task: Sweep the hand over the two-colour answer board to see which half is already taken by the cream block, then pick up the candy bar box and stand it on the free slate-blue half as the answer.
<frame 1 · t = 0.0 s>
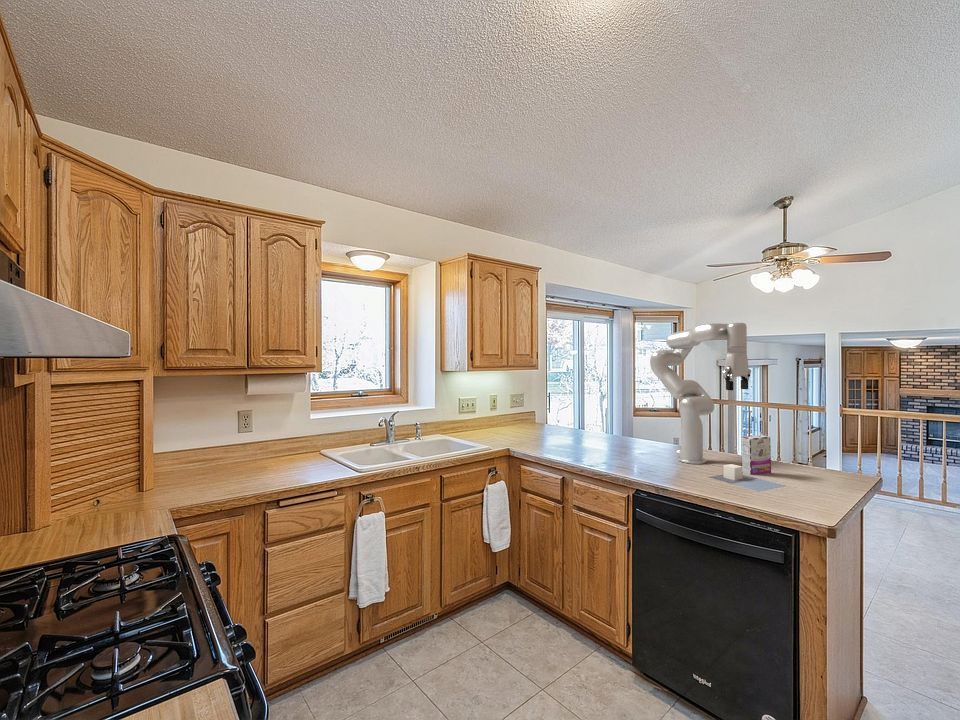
hand: (737, 389, 199), 37 cm above the worktop, tool pointing down, fingers open, 9 cm apart
answer board: (745, 483, 184), on the worktop
cream block: (733, 477, 189), point 1 cm above the worktop, touching answer board
candy bar box: (756, 474, 197), on the worktop
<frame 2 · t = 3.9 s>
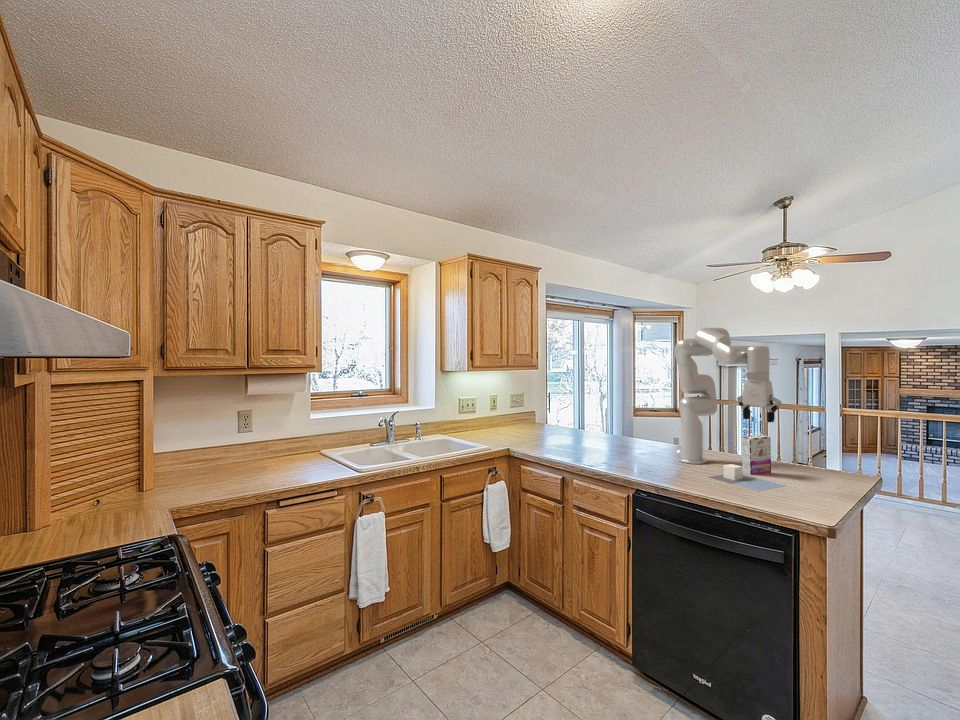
hand: (758, 420, 178), 26 cm above the worktop, tool pointing down, fingers open, 9 cm apart
nothing on the worktop moved.
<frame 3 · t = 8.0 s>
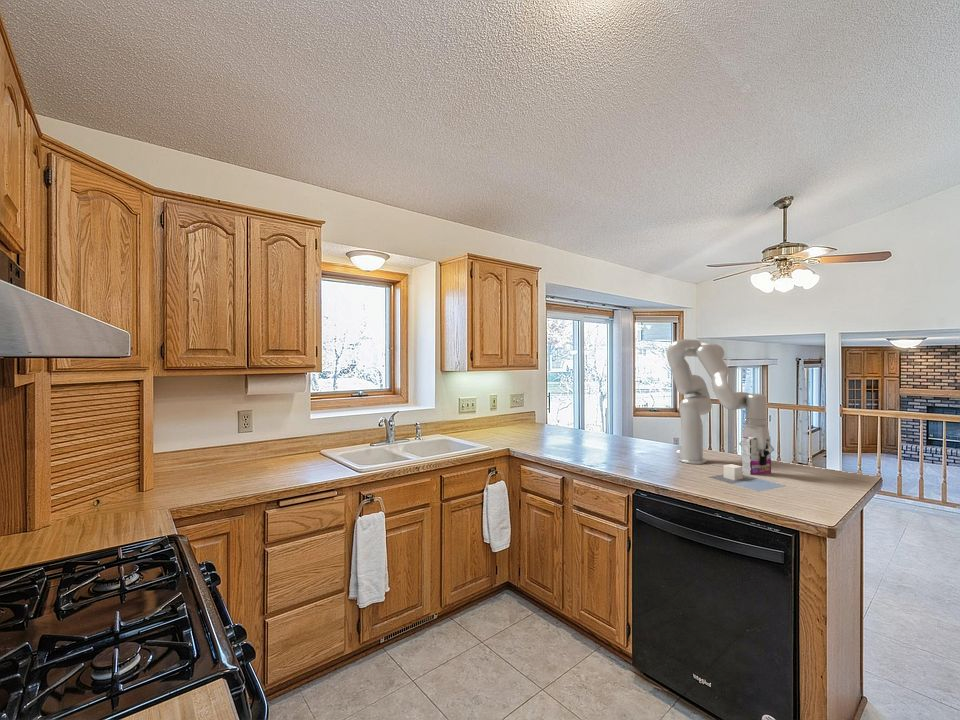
hand: (756, 463, 197), 5 cm above the worktop, tool pointing down, fingers closed on candy bar box, 5 cm apart
candy bar box: (756, 474, 197), on the worktop, touching gripper
everything else where it was.
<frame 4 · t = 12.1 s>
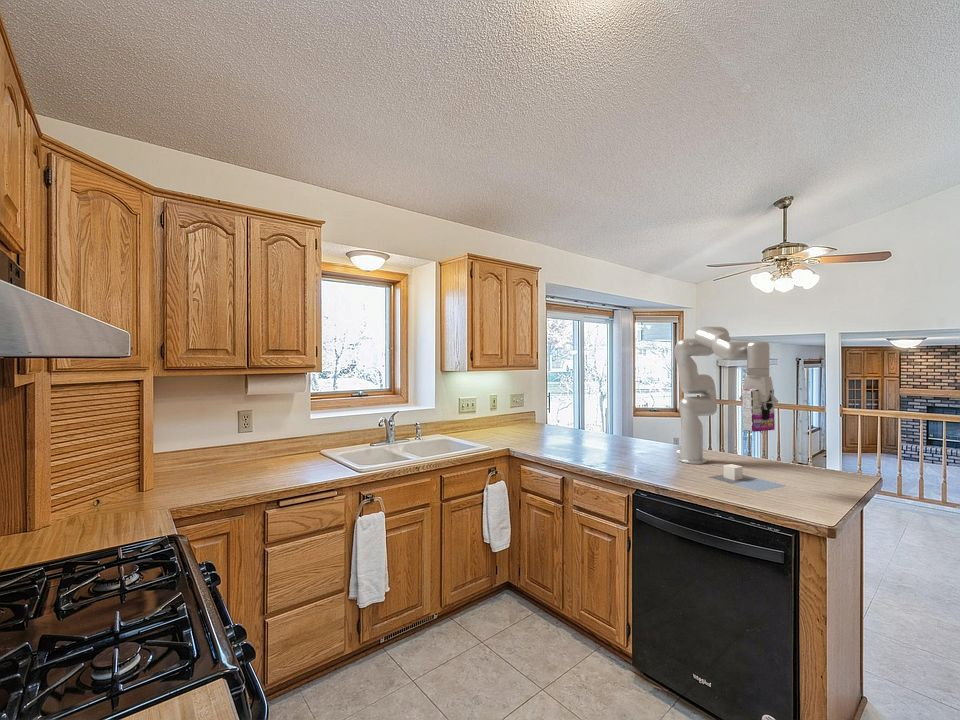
hand: (758, 418, 178), 27 cm above the worktop, tool pointing down, fingers closed on candy bar box, 5 cm apart
candy bar box: (758, 430, 179), point 22 cm above the worktop, touching gripper
everything else where it was.
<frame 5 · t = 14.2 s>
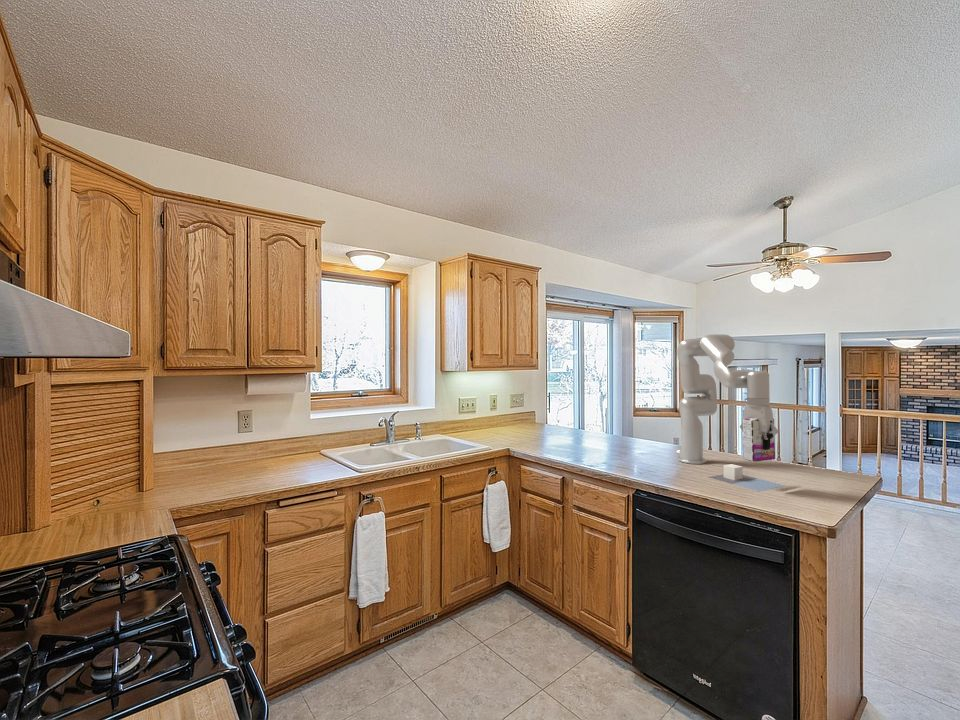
hand: (758, 447, 178), 16 cm above the worktop, tool pointing down, fingers closed on candy bar box, 5 cm apart
candy bar box: (758, 459, 179), point 11 cm above the worktop, touching gripper
everything else where it was.
when the fingers open (7 cm above the worktop, at t = 16.3 s): candy bar box drops 1 cm, resting on answer board.
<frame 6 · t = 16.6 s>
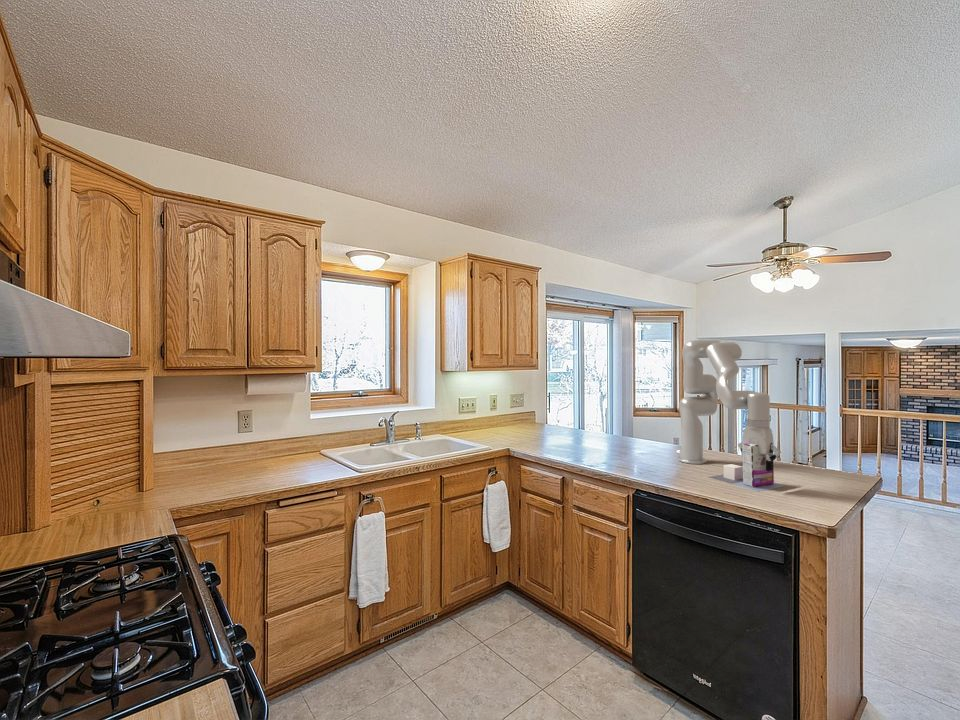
hand: (758, 467, 179), 7 cm above the worktop, tool pointing down, fingers open, 8 cm apart
candy bar box: (757, 484, 179), point 1 cm above the worktop, touching answer board
everything else where it was.
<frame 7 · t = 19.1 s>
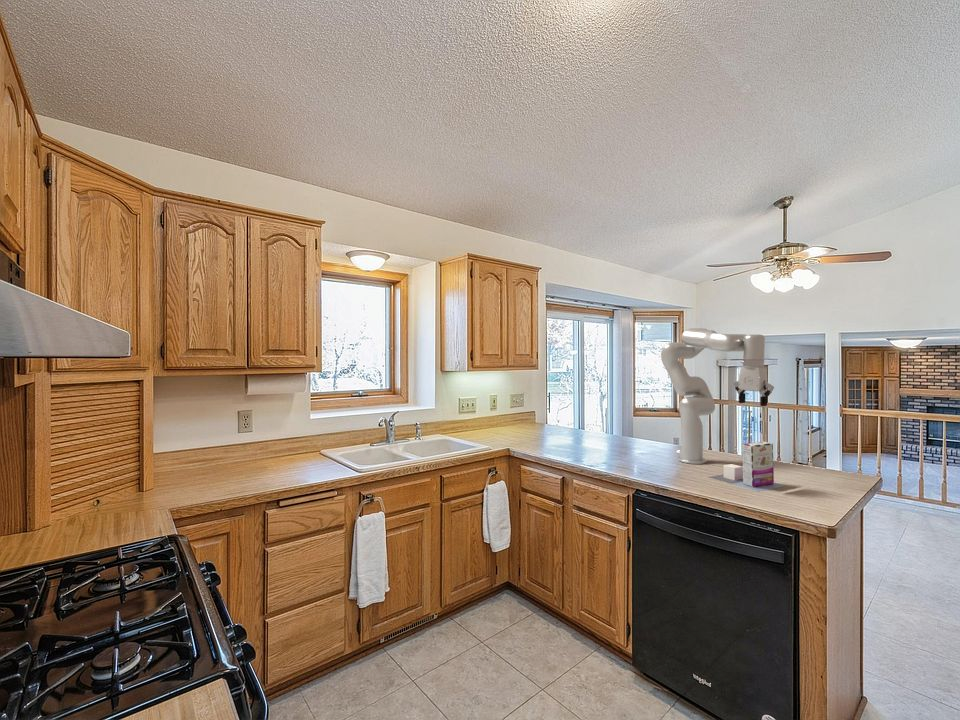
hand: (752, 404, 191), 31 cm above the worktop, tool pointing down, fingers open, 9 cm apart
nothing on the worktop moved.
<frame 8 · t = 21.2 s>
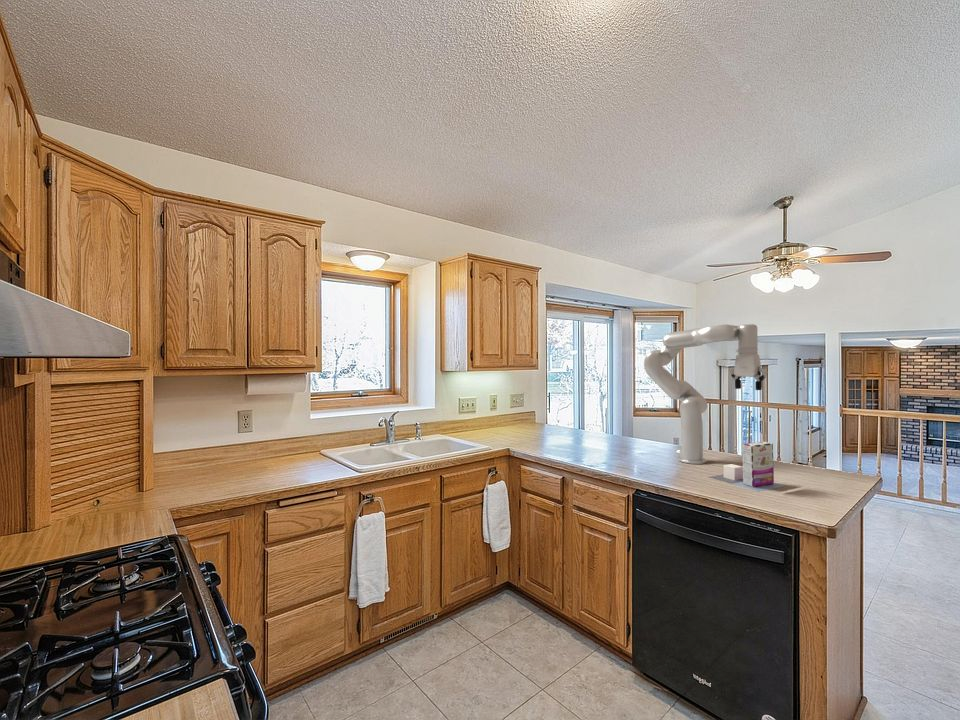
hand: (748, 389, 205), 36 cm above the worktop, tool pointing down, fingers open, 9 cm apart
nothing on the worktop moved.
at the end: candy bar box inside the target area on the answer board (0.9 cm from its centre), point 0.6 cm above the answer board's base; candy bar box tilted 0°; cream block moved 0.0 cm from its start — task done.
